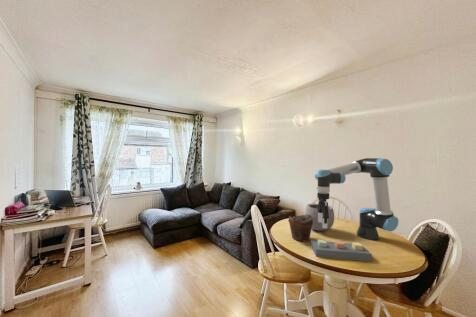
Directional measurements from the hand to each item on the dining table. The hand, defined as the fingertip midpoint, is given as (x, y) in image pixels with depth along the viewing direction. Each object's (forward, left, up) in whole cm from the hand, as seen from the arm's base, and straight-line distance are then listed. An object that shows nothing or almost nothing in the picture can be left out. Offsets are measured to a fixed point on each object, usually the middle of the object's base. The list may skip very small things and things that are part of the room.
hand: (322, 225), depth 136 cm
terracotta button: (-11, 0, -14) cm, 18 cm away
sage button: (0, 0, -14) cm, 14 cm away
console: (-11, 0, -18) cm, 21 cm away
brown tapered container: (+11, -21, -18) cm, 30 cm away
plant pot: (-9, -44, -18) cm, 48 cm away
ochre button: (-22, 0, -14) cm, 26 cm away
